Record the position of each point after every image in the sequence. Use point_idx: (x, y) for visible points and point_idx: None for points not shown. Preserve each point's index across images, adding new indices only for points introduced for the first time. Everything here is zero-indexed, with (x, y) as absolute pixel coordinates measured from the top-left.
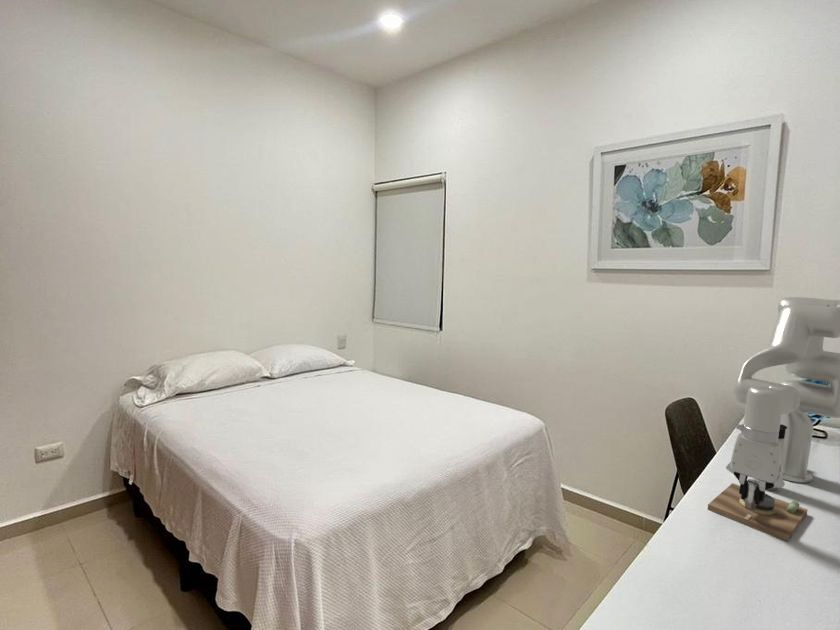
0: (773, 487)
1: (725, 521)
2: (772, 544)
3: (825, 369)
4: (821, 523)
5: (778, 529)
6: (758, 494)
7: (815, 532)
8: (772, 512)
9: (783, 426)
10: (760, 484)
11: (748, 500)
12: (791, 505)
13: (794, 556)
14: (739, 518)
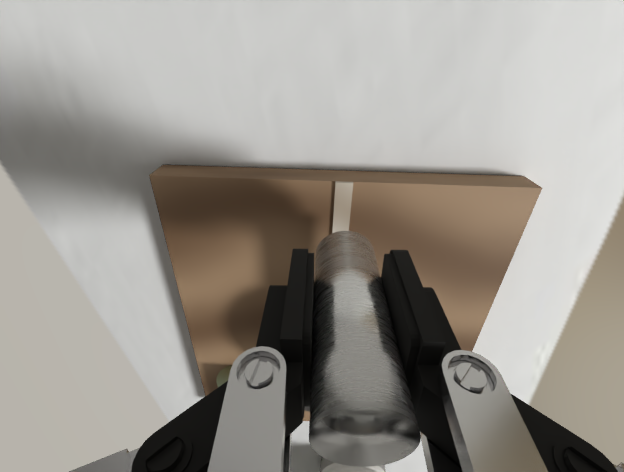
0: (327, 465)
1: (429, 117)
2: (188, 66)
3: None
4: (169, 379)
5: (205, 206)
6: (290, 305)
7: (149, 319)
8: None
9: None
10: (273, 419)
11: (357, 259)
12: None
13: (71, 26)
14: (374, 179)
